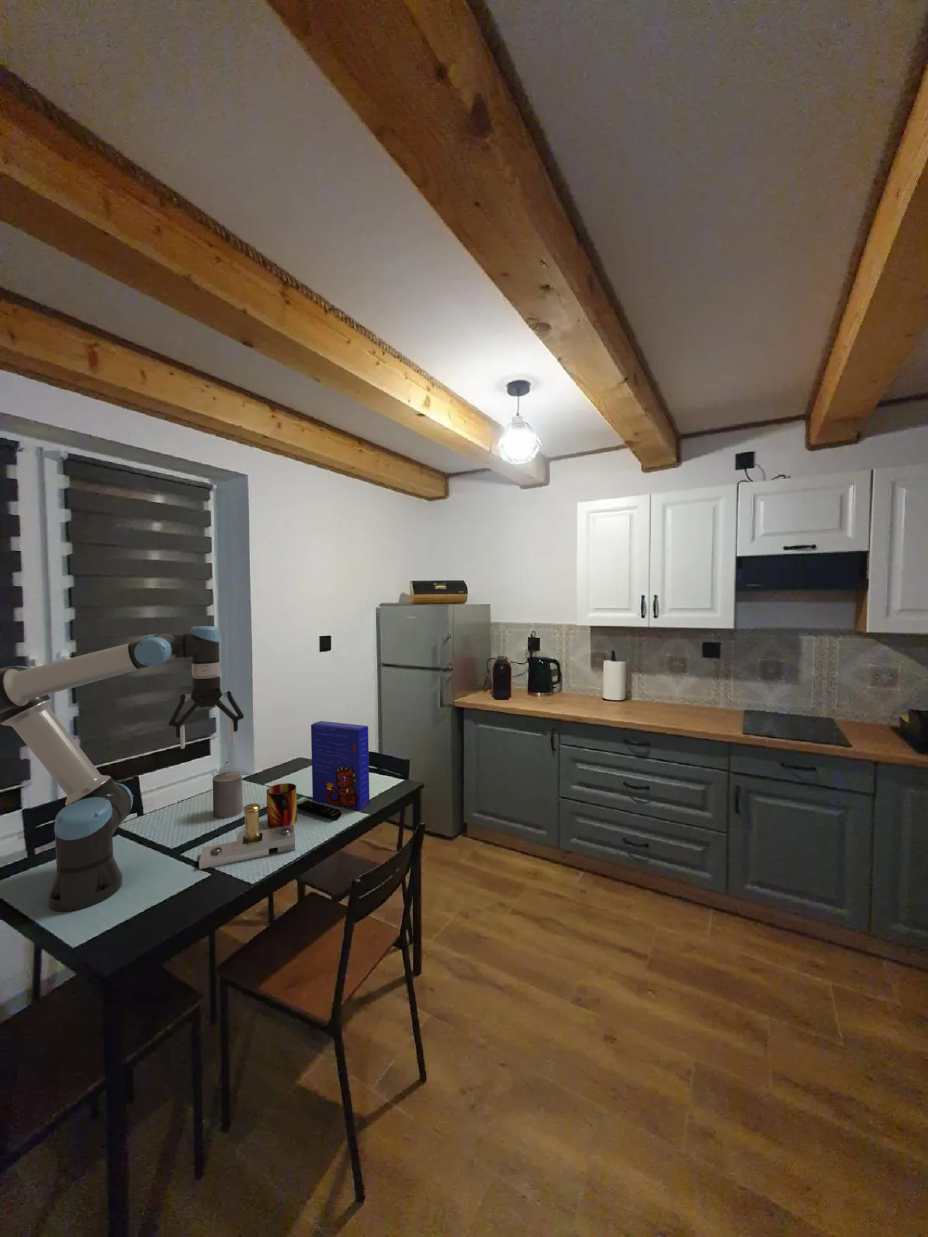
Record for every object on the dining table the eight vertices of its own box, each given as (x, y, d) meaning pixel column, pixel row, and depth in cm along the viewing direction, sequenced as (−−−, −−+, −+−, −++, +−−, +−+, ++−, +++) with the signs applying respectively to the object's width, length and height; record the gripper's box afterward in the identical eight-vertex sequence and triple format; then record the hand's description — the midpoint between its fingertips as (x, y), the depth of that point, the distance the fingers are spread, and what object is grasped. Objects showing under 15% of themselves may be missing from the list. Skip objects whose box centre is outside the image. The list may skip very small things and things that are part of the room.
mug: (285, 835, 154) (284, 799, 154) (261, 824, 162) (260, 790, 161) (310, 823, 162) (309, 789, 161) (286, 813, 170) (285, 781, 169)
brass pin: (244, 856, 141) (243, 811, 141) (244, 849, 145) (243, 805, 145) (260, 853, 143) (259, 808, 142) (260, 846, 147) (260, 802, 147)
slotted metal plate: (199, 869, 135) (198, 853, 134) (203, 854, 143) (202, 839, 143) (295, 850, 145) (294, 835, 144) (293, 836, 153) (293, 822, 153)
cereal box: (369, 803, 177) (368, 725, 176) (360, 810, 172) (358, 729, 171) (322, 795, 186) (321, 720, 185) (312, 801, 180) (310, 724, 179)
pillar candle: (210, 812, 172) (209, 772, 171) (238, 804, 178) (237, 765, 177) (217, 821, 164) (216, 779, 164) (246, 813, 171) (245, 772, 170)
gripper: (155, 681, 136) (158, 753, 136) (250, 675, 145) (252, 743, 146) (161, 677, 143) (163, 746, 143) (251, 672, 152) (252, 736, 153)
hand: (208, 744), depth 145 cm, fingers open, 13 cm apart
